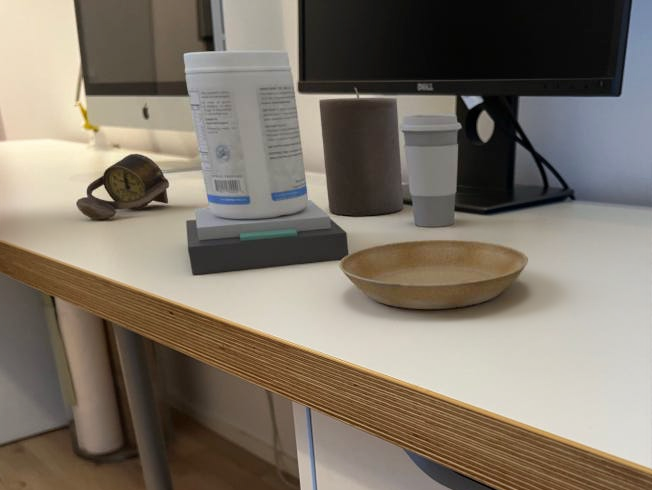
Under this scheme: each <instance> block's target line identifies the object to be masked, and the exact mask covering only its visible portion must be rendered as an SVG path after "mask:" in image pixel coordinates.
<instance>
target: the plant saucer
mask: <svg viewBox="0 0 652 490" xmlns="http://www.w3.org/2000/svg"><path fill="white" fill-rule="evenodd" d="M348 254H349V255H347V256H345V257H344V258H343V259H340V261H339V262H338V263H339V265H338V266H339V269H340V271H342V272H343V274H344V275H345V276H346V278H347V279H348V280H350V282H351V283H352V284H353V285H355V286H356V287H357V288H358V290H360V291H361V292H362V293H364V294H365V295H366V296H367V297H369V298H370V299H372V300H374V301H376V302H379V303H381V304H385V305H388V306H393V307H397V308H403V309H412V310H446V309H447V310H449V309H455V308H456V307H457V308H463V307H469V306H474V305H478V304H481V303H485V302H488V301H489V300H492V299H494V298H496V297H497V296H499V295H500V294H502V293H503V292H504V291H505V290H506V289H507V288H508V287H509V286H511V284H513V283H514V281H515V280H517V278H518V277H519V276H520V275H521V274H522V272H523V271H524V269H525V268H526V266H527V265H528V263H529V258H528V256H527V255H526V254H525V253H524V252H523V251H521V250H518V249H515V248H513V247H510V246H505V245H501V244H498V243H491V242H483V241H476V240H463V239H462V240H459V239H423V240H410V241H399V242H391V243H384V244H381V245H380V244H378V245H374V246H370V247H366V248H362V249H359V250H356V251H354V252H351V253H348ZM484 301H485V302H484ZM473 304H474V305H473ZM468 305H469V306H468Z"/></svg>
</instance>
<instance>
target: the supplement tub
mask: <svg viewBox="0 0 652 490" xmlns="http://www.w3.org/2000/svg"><path fill="white" fill-rule="evenodd" d="M183 63H184V67H185V68H184V73H185V82H186V88H187V94H188V99H189V105H190V111H191V117H192V121H193V126H194V127H193V128H194V132H195V137H196V143H197V149H198V154H199V160H200V165H201V171H202V176H203V183H204V188H205V193H206V199H207V203H208V204H207V205H208V208H210V211H211V212H212V213H213V214H214V215H216V216H218V217H221V218H227V219H264V218H273V217H278V216H281V215H290V214H294V213H297V212H299V211H301V210H303V209H304V208H305V207H306V206H307V203H308V200H309V194H308V187H307V180H306V178H307V177H306V170H305V163H304V162H305V161H304V154H303V147H302V138H301V130H300V123H299V115H298V108H297V107H298V106H297V99H296V91H295V84H294V77H293V72H292V67H291V66H290V58H289V53H288V52H287V51H285V50H270V49H269V50H259V49H258V50H215V51H195V52H194V51H192V52H185V53H183Z"/></svg>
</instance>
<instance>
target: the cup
mask: <svg viewBox="0 0 652 490" xmlns="http://www.w3.org/2000/svg"><path fill="white" fill-rule="evenodd" d="M398 129H399V131H401V132H402V133H403V138H404V144H403V148H404V156H405V164H406V172H407V180H408V187H409V195H410V196H411V203H412V210H413V211H412V212H413V218H414V219H413V220H414V225H416V226H418V227H423V228H438V227H440V228H441V227H447V226H452V225H453V224H454V223H455V206H456V205H455V204H456V193H457V185H458V162H459V161H458V159H459V142H458V132H459V131H460V129H461V130H462V124H461V122H458V117H457V114H447V113H446V114H444V113H442V114H410V115H403V118H402V123H400V125H399V126H398Z"/></svg>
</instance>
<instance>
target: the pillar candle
mask: <svg viewBox="0 0 652 490" xmlns="http://www.w3.org/2000/svg"><path fill="white" fill-rule="evenodd" d="M357 89H358V88H356V87H354V91H355V94H356V97H348V98H347V97H345V98H344V97H343V98H325V99H324V98H323V99H319V100H318V102H319V103H318V104H319V114H320V116H319V117H320V126H321V138H322V147H323V148H322V150H323V161H324V169H325V170H324V171H325V179H326V190H327V199H328V210H329V213H332V214H334V215H342V216H343V215H346V216H347V215H348V216H357V217H365V216H375V215H384V214H392V213H396V212H399V211H401V210H403V209H404V197H403V181H402V180H403V178H402V164H401V163H402V162H401V149H400V148H401V147H400V146H401V145H400V133H399V131H400V130H399V116H398V115H399V114H398V113H399V112H398V98H396V97H360V95H359V92H358V90H357Z"/></svg>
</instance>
